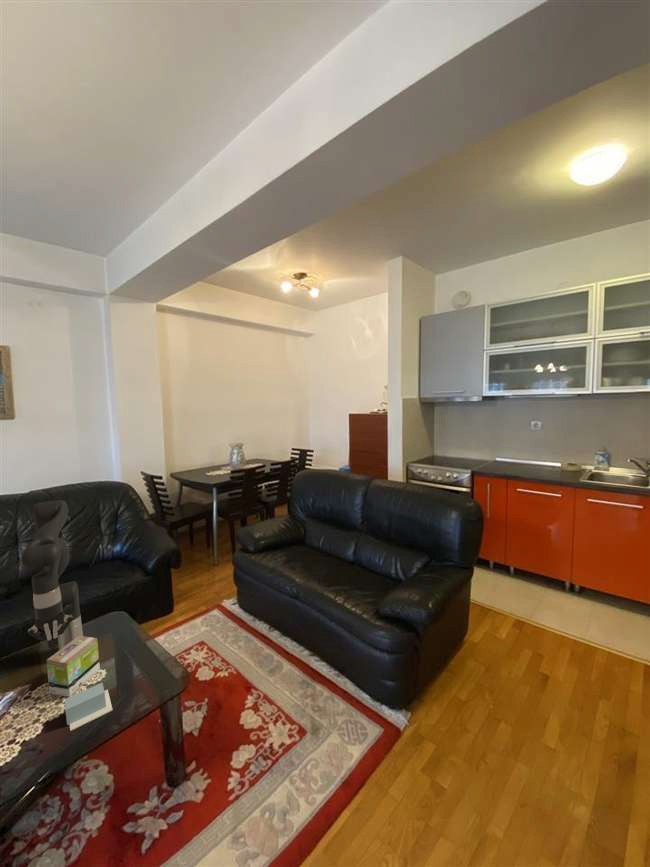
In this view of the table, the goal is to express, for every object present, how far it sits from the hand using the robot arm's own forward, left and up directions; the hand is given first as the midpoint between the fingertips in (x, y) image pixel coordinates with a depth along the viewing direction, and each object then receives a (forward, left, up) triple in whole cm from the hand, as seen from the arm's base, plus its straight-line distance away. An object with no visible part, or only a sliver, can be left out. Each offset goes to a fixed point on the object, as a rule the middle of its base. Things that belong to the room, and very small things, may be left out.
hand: (53, 647), depth 128 cm
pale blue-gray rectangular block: (0, +1, -26) cm, 26 cm away
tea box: (-20, +5, -29) cm, 36 cm away
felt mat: (0, +8, -29) cm, 30 cm away
